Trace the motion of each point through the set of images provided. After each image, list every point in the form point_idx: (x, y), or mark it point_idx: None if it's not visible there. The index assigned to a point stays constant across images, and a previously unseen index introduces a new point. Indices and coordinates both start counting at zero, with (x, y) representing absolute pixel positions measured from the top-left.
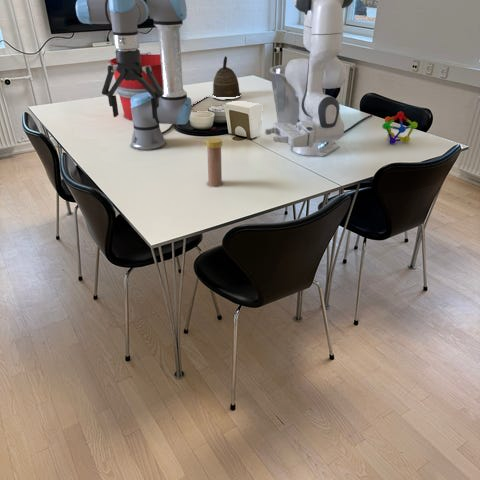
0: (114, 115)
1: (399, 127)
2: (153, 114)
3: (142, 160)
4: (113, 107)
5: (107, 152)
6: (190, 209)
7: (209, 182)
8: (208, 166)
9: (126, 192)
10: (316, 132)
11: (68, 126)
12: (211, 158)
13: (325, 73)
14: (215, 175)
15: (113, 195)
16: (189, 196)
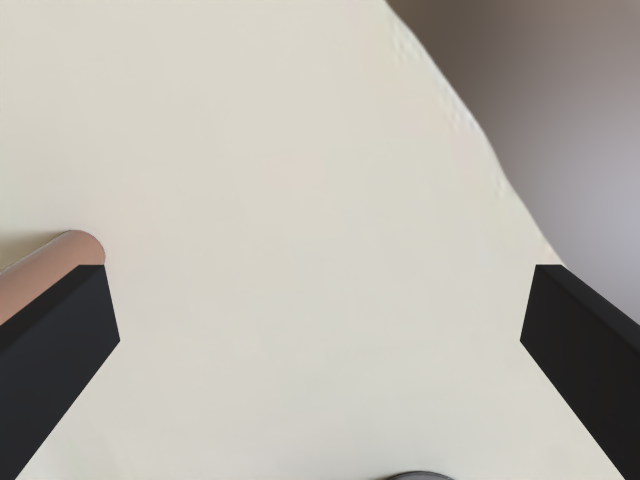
0: (558, 272)
1: None
2: (64, 286)
3: (403, 400)
4: (619, 325)
5: (544, 444)
6: (83, 13)
7: (88, 241)
8: (53, 272)
9: (389, 136)
10: None
11: None
12: (2, 282)
13: None
14: (40, 248)
15: (433, 102)
16: (132, 133)
